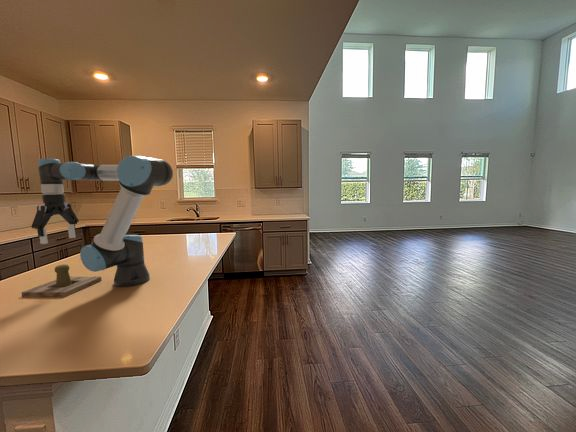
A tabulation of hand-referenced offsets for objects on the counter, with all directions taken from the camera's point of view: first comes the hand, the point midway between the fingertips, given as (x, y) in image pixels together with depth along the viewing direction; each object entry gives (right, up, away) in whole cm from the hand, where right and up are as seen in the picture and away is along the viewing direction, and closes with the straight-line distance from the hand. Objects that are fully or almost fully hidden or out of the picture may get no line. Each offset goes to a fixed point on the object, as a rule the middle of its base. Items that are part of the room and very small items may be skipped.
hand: (59, 240), depth 121 cm
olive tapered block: (+1, -23, +2) cm, 23 cm away
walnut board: (+1, -22, +2) cm, 22 cm away
